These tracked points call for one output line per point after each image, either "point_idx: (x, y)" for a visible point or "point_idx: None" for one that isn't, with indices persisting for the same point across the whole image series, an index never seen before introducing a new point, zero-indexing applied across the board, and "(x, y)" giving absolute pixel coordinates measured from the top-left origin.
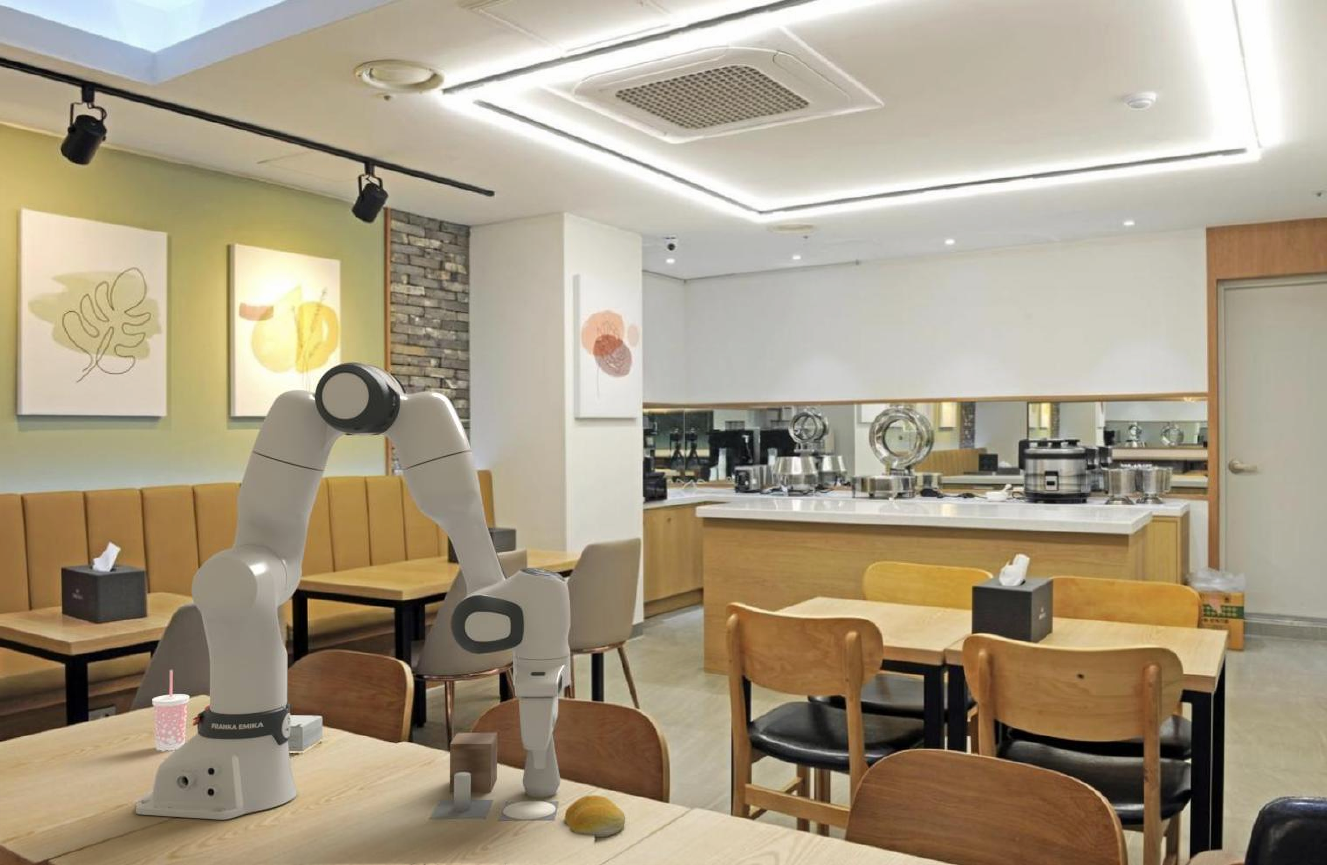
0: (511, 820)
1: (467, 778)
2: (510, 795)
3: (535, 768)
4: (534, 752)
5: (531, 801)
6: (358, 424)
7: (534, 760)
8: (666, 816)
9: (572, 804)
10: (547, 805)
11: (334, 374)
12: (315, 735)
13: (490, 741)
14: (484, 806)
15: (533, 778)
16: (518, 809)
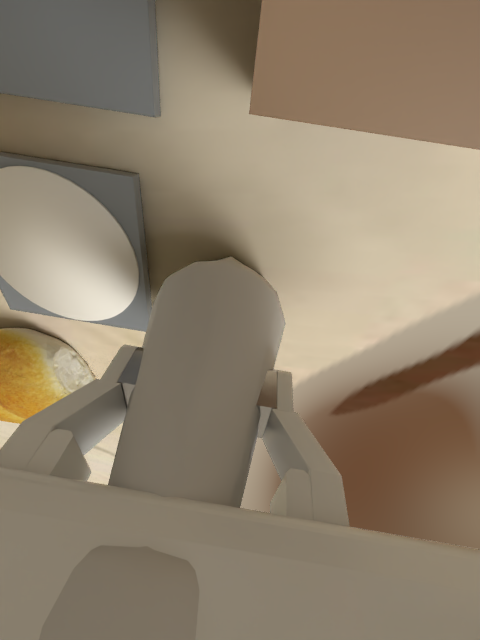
0: None
1: None
2: (256, 195)
3: (125, 345)
4: (64, 403)
5: (131, 267)
6: None
7: (110, 368)
8: (111, 445)
9: (2, 367)
10: (102, 305)
11: None
12: None
13: (370, 93)
14: (61, 69)
15: (153, 311)
16: (49, 223)
